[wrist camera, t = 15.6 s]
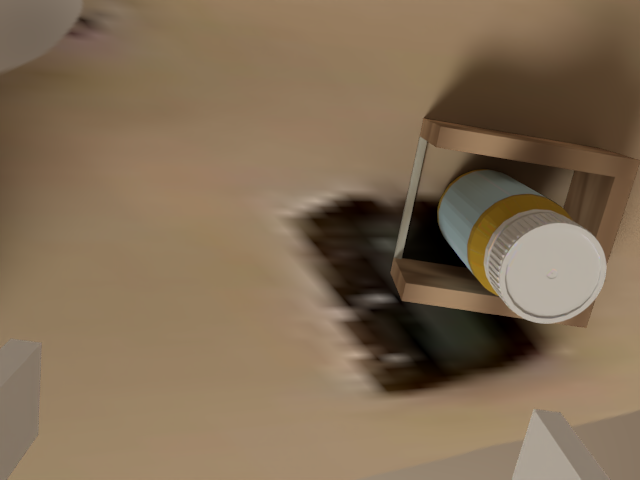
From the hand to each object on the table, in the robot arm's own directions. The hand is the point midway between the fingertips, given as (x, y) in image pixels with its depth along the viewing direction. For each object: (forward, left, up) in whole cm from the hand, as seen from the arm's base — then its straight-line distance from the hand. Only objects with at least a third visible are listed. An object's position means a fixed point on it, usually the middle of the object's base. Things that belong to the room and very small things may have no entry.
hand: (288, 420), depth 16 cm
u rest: (+16, 0, -32) cm, 36 cm away
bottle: (+15, 0, -33) cm, 36 cm away
